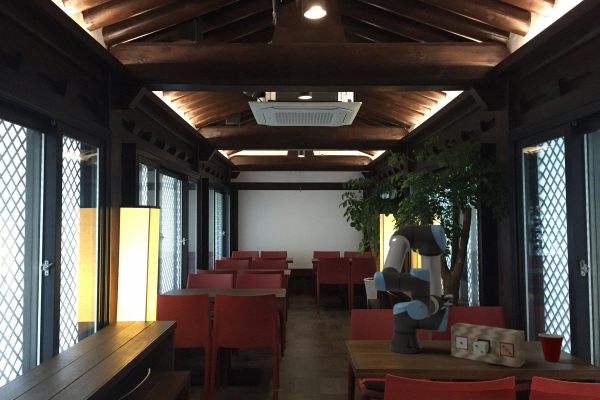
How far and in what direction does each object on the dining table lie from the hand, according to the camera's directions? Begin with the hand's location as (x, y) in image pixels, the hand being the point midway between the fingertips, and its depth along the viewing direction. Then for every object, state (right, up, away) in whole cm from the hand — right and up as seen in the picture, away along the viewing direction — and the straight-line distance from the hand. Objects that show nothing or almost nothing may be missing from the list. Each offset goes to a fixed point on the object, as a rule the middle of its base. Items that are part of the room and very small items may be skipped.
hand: (451, 297), depth 210 cm
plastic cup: (+48, -30, +5) cm, 57 cm away
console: (+19, -30, +7) cm, 36 cm away
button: (+10, -26, +12) cm, 30 cm away
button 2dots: (+14, -25, +1) cm, 29 cm away
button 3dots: (+26, -25, -1) cm, 36 cm away
